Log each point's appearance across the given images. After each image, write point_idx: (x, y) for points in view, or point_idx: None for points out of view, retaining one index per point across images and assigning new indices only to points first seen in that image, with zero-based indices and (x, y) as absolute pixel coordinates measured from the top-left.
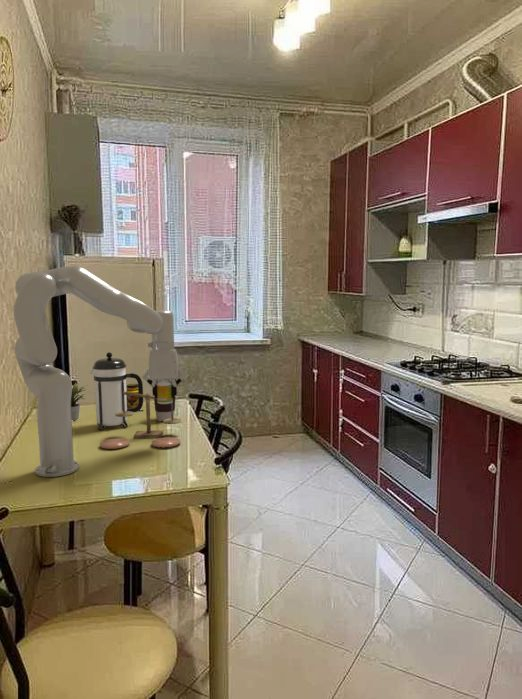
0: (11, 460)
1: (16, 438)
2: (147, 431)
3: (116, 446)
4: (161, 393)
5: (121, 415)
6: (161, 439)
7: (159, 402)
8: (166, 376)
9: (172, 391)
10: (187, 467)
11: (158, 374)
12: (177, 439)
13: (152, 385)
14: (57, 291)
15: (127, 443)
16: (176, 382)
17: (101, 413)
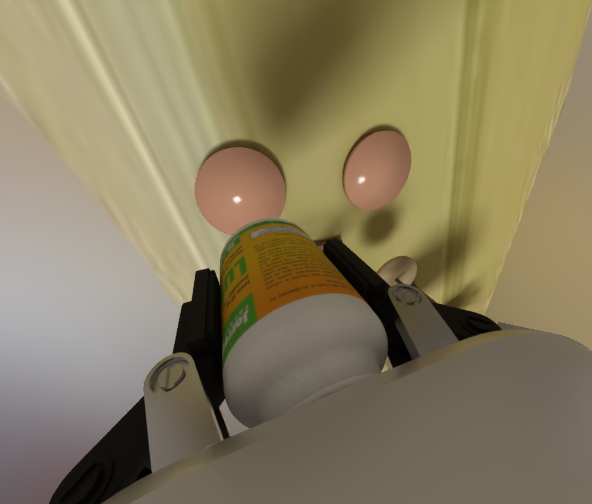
0: (573, 41)
1: (524, 208)
2: None
3: (372, 135)
4: (298, 250)
5: (402, 258)
6: (263, 213)
7: (294, 224)
8: (305, 497)
9: (204, 301)
10: None
11: (532, 475)
12: (213, 218)
13: (412, 294)
14: None
15: (347, 166)
16: (148, 428)
17: (428, 298)
